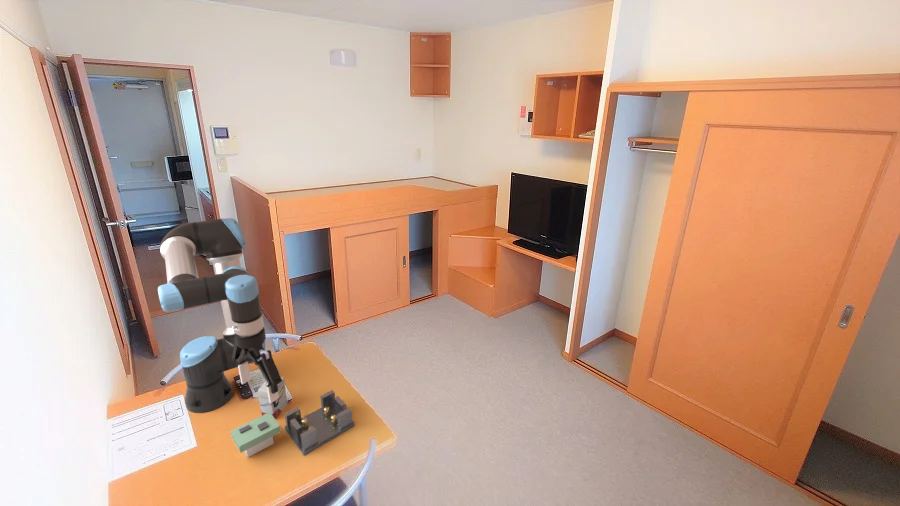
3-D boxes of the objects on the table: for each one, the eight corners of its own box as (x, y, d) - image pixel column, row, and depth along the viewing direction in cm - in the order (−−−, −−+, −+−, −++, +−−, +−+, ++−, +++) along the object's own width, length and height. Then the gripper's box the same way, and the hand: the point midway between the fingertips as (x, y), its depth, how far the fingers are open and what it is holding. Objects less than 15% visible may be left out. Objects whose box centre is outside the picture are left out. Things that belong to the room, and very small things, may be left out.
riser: (243, 449, 126) (240, 437, 124) (269, 436, 131) (267, 424, 129) (247, 457, 123) (245, 445, 122) (273, 443, 129) (271, 431, 127)
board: (231, 437, 124) (230, 429, 123) (270, 417, 132) (269, 410, 131) (240, 453, 119) (238, 445, 118) (280, 431, 127) (279, 424, 126)
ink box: (274, 420, 137) (269, 393, 133) (261, 418, 138) (256, 390, 134) (288, 403, 145) (284, 377, 141) (276, 401, 146) (272, 374, 142)
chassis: (285, 430, 134) (282, 413, 131) (334, 404, 146) (332, 388, 143) (304, 455, 125) (301, 438, 122) (354, 426, 136) (353, 410, 134)
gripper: (210, 320, 113) (223, 380, 121) (264, 352, 101) (275, 416, 109) (236, 309, 119) (246, 367, 127) (290, 338, 107) (298, 400, 115)
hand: (259, 390), depth 118 cm, fingers open, 13 cm apart
